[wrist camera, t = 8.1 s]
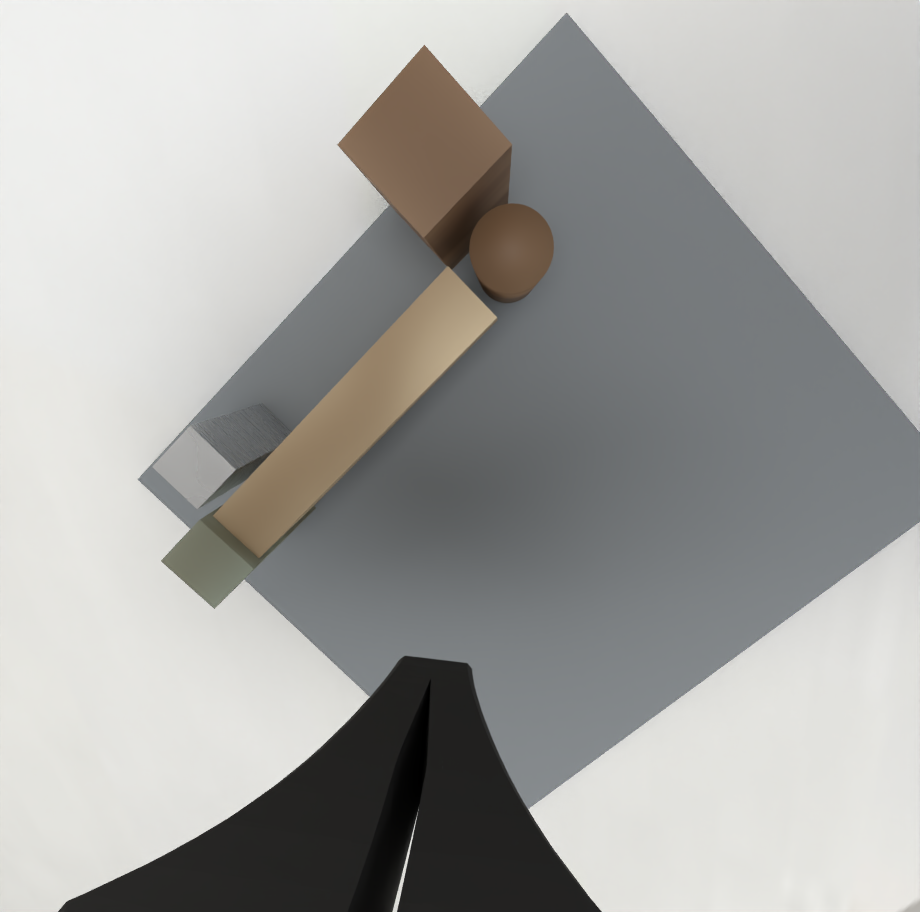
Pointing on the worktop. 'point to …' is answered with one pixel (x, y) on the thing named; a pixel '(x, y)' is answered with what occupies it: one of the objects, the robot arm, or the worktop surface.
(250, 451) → the post
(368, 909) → the robot arm
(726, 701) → the worktop surface
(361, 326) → the mat
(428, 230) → the hinge post
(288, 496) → the gate
